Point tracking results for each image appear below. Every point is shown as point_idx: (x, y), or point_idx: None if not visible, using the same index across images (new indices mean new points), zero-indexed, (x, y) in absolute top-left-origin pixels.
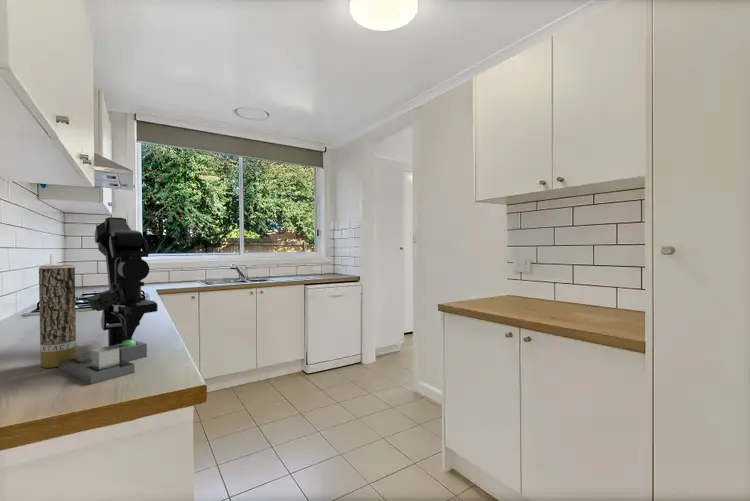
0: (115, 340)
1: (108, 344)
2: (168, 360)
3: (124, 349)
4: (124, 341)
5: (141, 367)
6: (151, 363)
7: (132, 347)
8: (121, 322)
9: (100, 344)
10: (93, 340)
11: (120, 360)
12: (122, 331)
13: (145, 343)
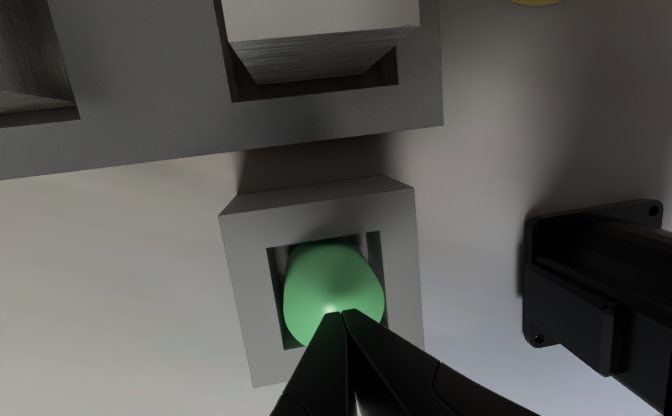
0: (607, 261)
1: (635, 223)
2: (72, 393)
3: (222, 234)
4: (350, 277)
5: (24, 249)
6: (78, 312)
7: (235, 291)
8: (441, 393)
9: (233, 48)
10: (408, 18)
11: (53, 157)
12: (643, 336)
13: (270, 383)
